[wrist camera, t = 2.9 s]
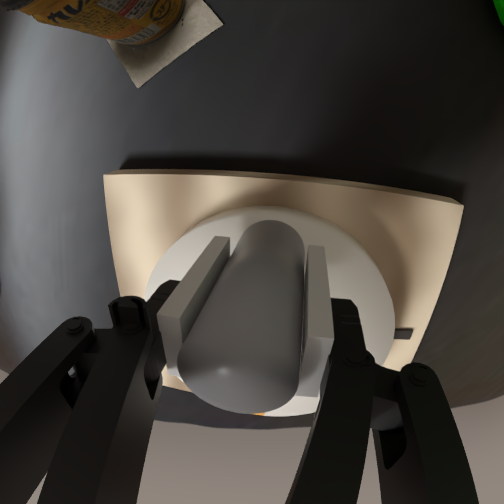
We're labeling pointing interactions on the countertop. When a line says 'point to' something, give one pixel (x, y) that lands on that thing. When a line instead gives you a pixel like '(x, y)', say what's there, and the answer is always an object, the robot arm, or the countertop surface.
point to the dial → (268, 306)
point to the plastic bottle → (500, 9)
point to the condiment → (130, 27)
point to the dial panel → (297, 197)
